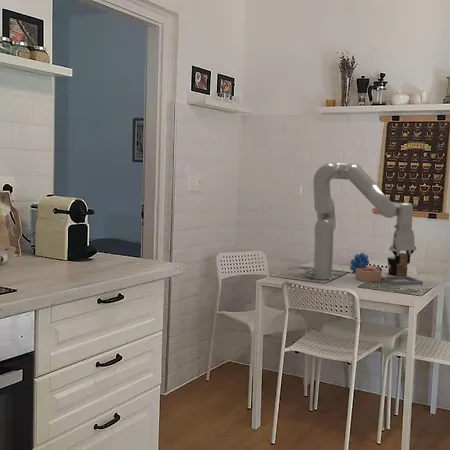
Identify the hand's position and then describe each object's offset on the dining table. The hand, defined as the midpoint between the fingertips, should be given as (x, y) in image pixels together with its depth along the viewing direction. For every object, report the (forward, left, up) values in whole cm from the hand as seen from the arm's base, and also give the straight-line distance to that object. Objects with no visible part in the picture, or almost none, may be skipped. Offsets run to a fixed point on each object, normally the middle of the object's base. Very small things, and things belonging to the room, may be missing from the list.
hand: (402, 263), depth 313 cm
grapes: (-10, +27, -11) cm, 31 cm away
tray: (0, 0, -11) cm, 11 cm away
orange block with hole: (-14, +8, -11) cm, 19 cm away
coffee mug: (+8, +20, -11) cm, 24 cm away
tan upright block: (0, 0, -6) cm, 6 cm away
